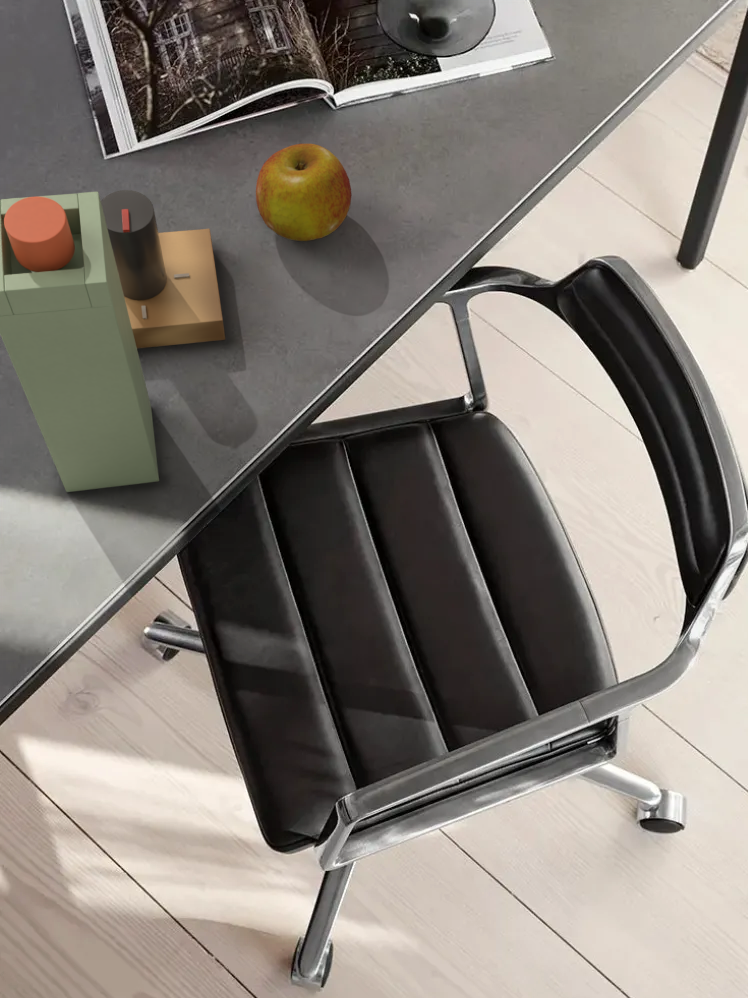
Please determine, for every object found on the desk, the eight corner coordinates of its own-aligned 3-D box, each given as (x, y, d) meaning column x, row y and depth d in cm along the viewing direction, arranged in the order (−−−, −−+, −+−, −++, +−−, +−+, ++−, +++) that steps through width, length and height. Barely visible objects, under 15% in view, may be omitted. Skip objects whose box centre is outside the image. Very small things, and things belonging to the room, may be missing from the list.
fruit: (306, 172, 116) (305, 110, 109) (369, 222, 114) (373, 162, 107) (238, 221, 113) (232, 161, 106) (302, 273, 111) (301, 216, 104)
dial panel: (73, 355, 105) (66, 334, 102) (66, 262, 109) (59, 239, 106) (225, 340, 107) (222, 319, 104) (212, 249, 111) (209, 226, 108)
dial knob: (113, 261, 106) (95, 188, 97) (165, 257, 106) (151, 185, 98) (115, 302, 104) (97, 232, 95) (168, 298, 104) (154, 228, 96)
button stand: (66, 492, 99) (-18, 293, 74) (61, 415, 102) (-22, 200, 77) (159, 481, 100) (106, 282, 75) (151, 406, 103) (98, 191, 79)
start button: (16, 275, 76) (4, 245, 73) (13, 229, 78) (2, 198, 75) (76, 270, 77) (67, 240, 74) (73, 224, 78) (64, 193, 76)
